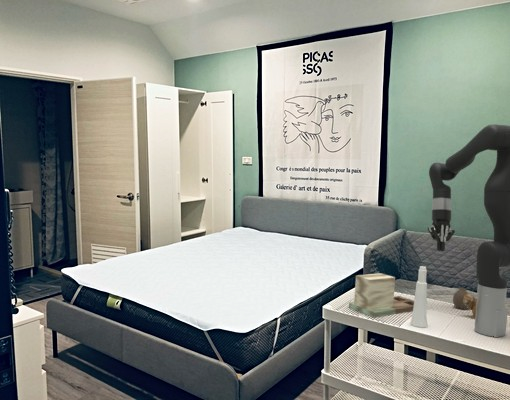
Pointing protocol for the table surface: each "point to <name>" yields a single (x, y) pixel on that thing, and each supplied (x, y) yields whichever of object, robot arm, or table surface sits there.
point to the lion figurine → (470, 304)
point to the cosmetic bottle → (420, 300)
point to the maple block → (374, 291)
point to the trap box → (387, 308)
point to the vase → (460, 298)
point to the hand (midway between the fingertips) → (440, 251)
